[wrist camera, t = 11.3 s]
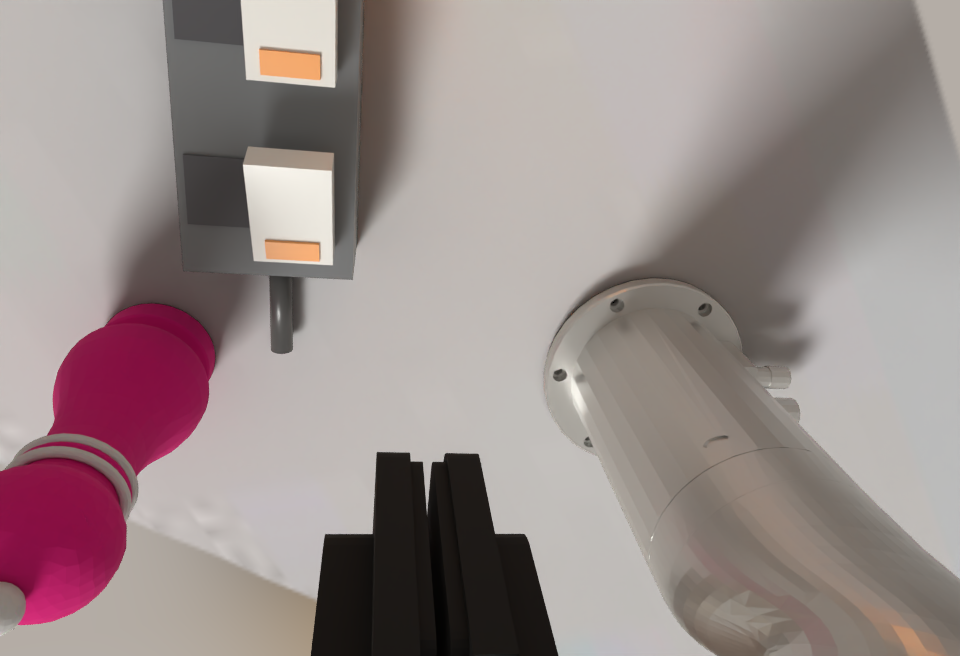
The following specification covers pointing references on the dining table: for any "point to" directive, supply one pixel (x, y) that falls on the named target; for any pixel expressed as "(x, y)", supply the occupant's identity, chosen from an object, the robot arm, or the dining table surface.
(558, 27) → the dining table surface
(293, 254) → the plate
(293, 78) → the block
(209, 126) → the power strip
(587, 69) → the dining table surface
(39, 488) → the pepper mill
